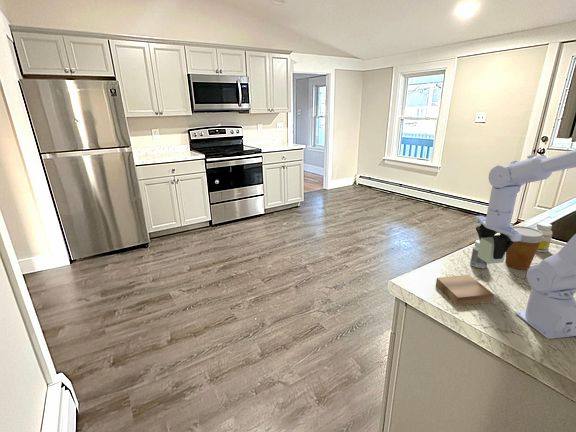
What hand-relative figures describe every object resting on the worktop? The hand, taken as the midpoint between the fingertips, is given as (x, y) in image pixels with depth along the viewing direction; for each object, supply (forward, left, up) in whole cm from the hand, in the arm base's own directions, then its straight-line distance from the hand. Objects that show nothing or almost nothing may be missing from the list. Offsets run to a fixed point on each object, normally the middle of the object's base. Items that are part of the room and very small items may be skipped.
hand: (491, 254), depth 87 cm
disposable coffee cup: (+8, -17, -10) cm, 21 cm away
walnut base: (-4, +10, -9) cm, 14 cm away
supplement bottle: (+17, -33, -10) cm, 39 cm away
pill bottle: (+10, -5, -10) cm, 15 cm away
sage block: (0, 0, -2) cm, 2 cm away
